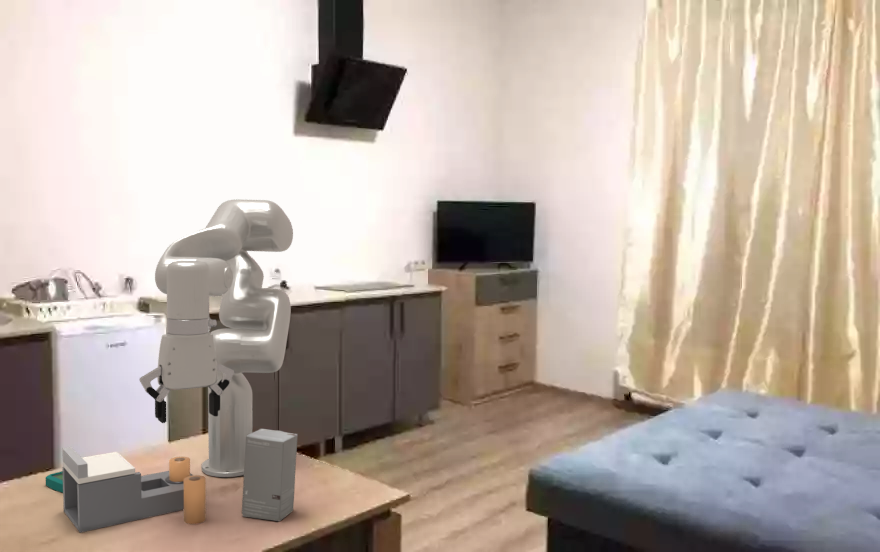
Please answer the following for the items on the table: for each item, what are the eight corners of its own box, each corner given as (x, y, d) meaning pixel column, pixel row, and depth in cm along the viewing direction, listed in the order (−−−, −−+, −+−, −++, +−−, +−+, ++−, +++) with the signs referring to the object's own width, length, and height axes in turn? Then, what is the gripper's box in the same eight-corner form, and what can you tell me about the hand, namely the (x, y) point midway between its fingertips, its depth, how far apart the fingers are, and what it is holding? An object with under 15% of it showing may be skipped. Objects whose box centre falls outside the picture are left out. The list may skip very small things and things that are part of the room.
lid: (116, 456, 160) (116, 439, 160) (135, 473, 151) (135, 455, 151) (62, 466, 154) (62, 448, 154) (78, 484, 145) (78, 465, 145)
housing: (183, 486, 170) (183, 445, 169) (205, 504, 160) (205, 461, 159) (63, 511, 155) (62, 466, 155) (79, 532, 146) (78, 485, 145)
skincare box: (241, 517, 155) (240, 436, 153) (259, 503, 161) (259, 426, 160) (281, 523, 152) (281, 441, 151) (297, 509, 159) (298, 430, 158)
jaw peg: (201, 514, 156) (200, 473, 155) (209, 520, 153) (208, 479, 152) (180, 518, 153) (180, 477, 152) (188, 525, 150) (188, 483, 149)
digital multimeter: (128, 476, 176) (128, 463, 176) (63, 496, 164) (63, 482, 164) (108, 469, 180) (108, 456, 180) (43, 488, 168) (43, 474, 168)
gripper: (226, 322, 158) (226, 408, 159) (134, 327, 148) (135, 419, 149) (240, 327, 152) (240, 416, 153) (145, 333, 142) (146, 428, 143)
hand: (188, 418), depth 151 cm, fingers open, 9 cm apart
